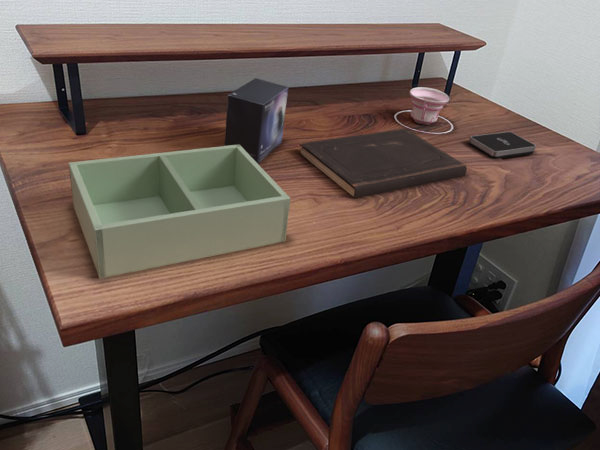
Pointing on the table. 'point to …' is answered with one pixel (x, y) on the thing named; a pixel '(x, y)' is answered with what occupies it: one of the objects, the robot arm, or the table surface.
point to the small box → (256, 117)
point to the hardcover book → (381, 162)
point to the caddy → (175, 207)
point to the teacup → (426, 106)
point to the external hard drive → (502, 145)
